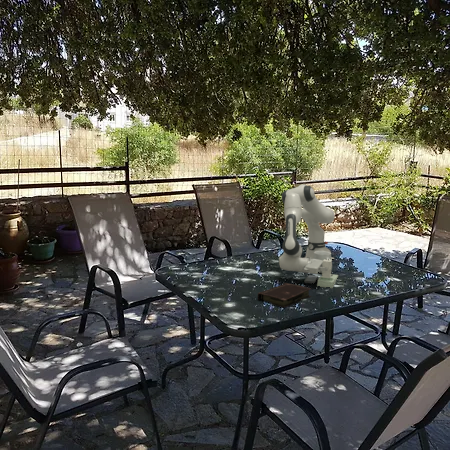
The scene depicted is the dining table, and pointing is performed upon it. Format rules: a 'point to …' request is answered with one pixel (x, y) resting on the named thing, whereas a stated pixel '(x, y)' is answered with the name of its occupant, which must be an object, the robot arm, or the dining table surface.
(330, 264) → the charger
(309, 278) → the phone
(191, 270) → the dining table surface
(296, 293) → the diary
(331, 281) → the green desk organizer
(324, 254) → the mug
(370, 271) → the dining table surface
